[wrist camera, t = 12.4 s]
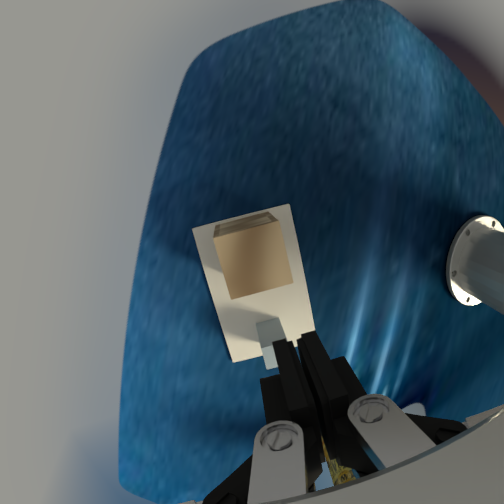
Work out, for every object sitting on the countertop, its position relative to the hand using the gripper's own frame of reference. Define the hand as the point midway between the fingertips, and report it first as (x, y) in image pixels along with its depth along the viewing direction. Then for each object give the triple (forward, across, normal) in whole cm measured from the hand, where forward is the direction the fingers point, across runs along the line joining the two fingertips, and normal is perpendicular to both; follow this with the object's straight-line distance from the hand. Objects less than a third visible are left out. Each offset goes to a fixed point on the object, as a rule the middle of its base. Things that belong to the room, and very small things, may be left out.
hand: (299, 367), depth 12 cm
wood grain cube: (+22, +1, 0) cm, 22 cm away
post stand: (+22, +1, +5) cm, 23 cm away
